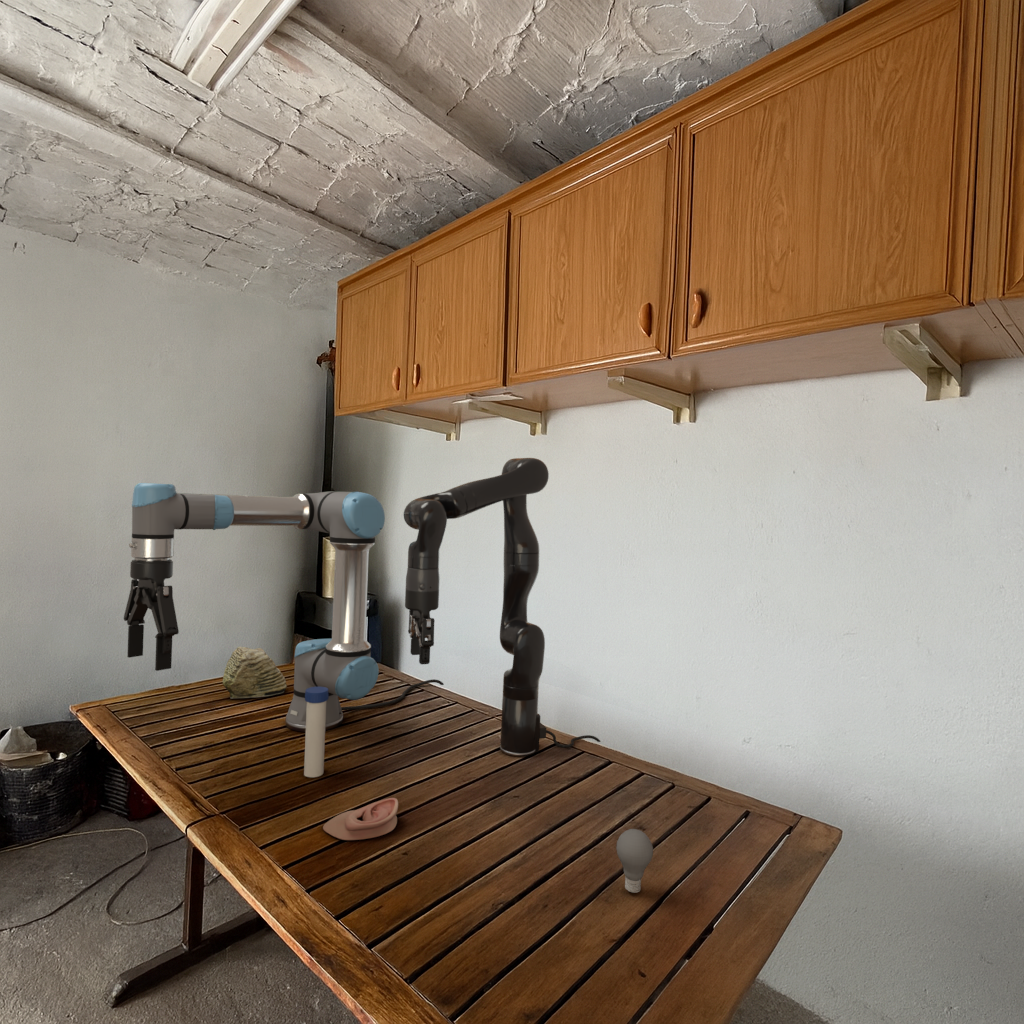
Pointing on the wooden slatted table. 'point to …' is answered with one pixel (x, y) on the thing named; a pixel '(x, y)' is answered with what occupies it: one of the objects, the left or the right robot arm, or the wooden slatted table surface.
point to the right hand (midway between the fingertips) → (419, 659)
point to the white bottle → (315, 739)
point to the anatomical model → (364, 821)
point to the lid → (316, 694)
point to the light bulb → (634, 857)
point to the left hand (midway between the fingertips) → (148, 662)
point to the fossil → (252, 674)
